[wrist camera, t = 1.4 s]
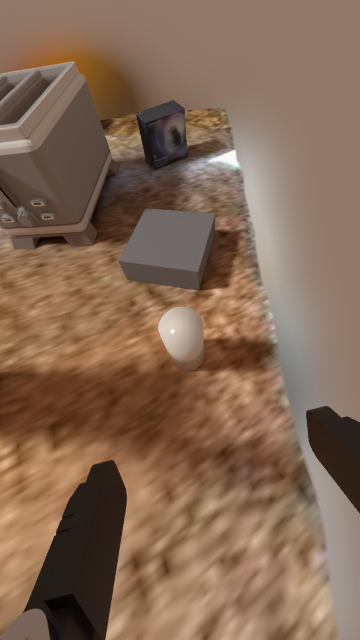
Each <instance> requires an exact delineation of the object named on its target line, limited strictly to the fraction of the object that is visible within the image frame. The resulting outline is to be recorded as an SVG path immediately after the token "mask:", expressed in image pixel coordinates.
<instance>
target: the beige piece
mask: <svg viewBox="0 0 360 640" xmlns="http://www.w3.org/2000/svg"><path fill="white" fill-rule="evenodd" d="M159 333H160V336H161V338H162V340H163V342H164V344H165V346H166V348H167V351H168V353H169V355H170V357H171V359H172V361H173V363H174V365H175V366H176V367H177V368H179V369H180V370H183V371H193V370H195V369H197V368H198V367H199V366H200V365H201V364H202V362H203V360H204V337H203V322H202V319H201V317H200V315H199V314H198V313H197V312H196V311H194V310H193V309H191V308H187V307H176V308H173V309H171V310H169V311H168V312H166V313H165V314H164V315H163V316H162V318H161V320H160V322H159Z"/></svg>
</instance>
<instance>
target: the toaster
mask: <svg viewBox="0 0 360 640" xmlns="http://www.w3.org/2000/svg"><path fill="white" fill-rule="evenodd" d="M118 169H119V166H118V165H117V164H116V162H115V161H114V160H113V158H112V155H111V152H110V149H109V146H108V143H107V140H106V137H105V134H104V131H103V128H102V125H101V123H100V120H99V117H98V114H97V111H96V108H95V105H94V102H93V99H92V96H91V94H90V91H89V88H88V85H87V82H86V79H85V77H84V76H83V75H82V74H81V73H78V70H77V67H76V64H75V62H68V63H62V64H56V65H51V66H45V67H39V68H34V69H27V70H21V71H15V72H9V73H3V74H1V75H0V227H1V229H2V230H3V231H4V232H6V233H7V234H8V235H11V236H10V238H11V241H12V244H13V247H14V250H17V249H35V248H36V246H37V244H38V242H39V240H40V238H41V237H54V236H63V237H64V238H65V239H66V241H67V242H68V243H69V245H70V246H71V247H74V246H92V245H93V244H94V241H95V238H96V235H97V231H96V229H95V228H94V226H93V225H92V223H91V218H92V215H93V213H94V210H95V207H96V204H97V202H98V199H99V196H100V193H101V191H102V188H103V185H104V183H105V180H106V177H107V176H111V175H117V172H118Z"/></svg>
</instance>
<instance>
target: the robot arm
mask: <svg viewBox="0 0 360 640" xmlns="http://www.w3.org/2000/svg"><path fill="white" fill-rule="evenodd" d="M306 418H307V427H308V438H309V443H310V446H311V448H312V450H313V452H314V454H315V456H316V457H317V459H318V460H319V461H320V462H321V464H322V465H323V466H324V468H325V469H326V470H327V471H328V473H329V474H330V475H331V477H332V478H333V479H334V480H335V482H336V483H337V485H338V486H339V487H340V488H341V490H342V491H343V492H344V494H345V495H346V496H347V498H348V499H349V500H350V501H351V503H352V504H353V505H354V507H355V508H356V509H357V511H358V512H359V513H360V422H358V421H356V420H354V419H352V418H350V417H343V418H341V417H340V416H339V415H338V414H337V413H335V412H334V411H333V410H332V409H331V408H330V407H328V406H324V407H320V408H316V409H312V410H308V411H307V412H306ZM126 504H127V494H126V488H125V485H124V483H123V480H122V478H121V476H120V473H119V471H118V469H117V466H116V464H115V462H114V461H113V460H110V461H106V462H102V463H98V464H94V465H93V466H92V467H91V469H90V472H89V475H88V478H87V480H86V483H82V484H80V485H79V486H78V488H77V489H76V490H75V492H74V493H73V495H72V496H71V498H70V499H69V501H68V504H67V506H66V509H65V511H64V514H63V516H62V520H61V521H60V524H59V526H58V529H57V531H56V536H54V539H53V541H52V544H51V546H50V549H49V551H48V553H47V556H46V558H45V561H44V563H43V566H42V568H41V571H40V573H39V576H38V578H37V581H36V583H35V586H34V588H33V591H32V593H31V596H30V598H29V601H28V603H27V605H26V608H25V609H24V611H23V613H22V614H21V615H20V616H19V617H17V618H16V619H15V620H14V621H13V622H12V623H11V624H10V625H9V626H8V627H7V628H6V630H5V631H4V632H3V633H2V635H1V636H0V640H105V638H106V632H107V625H108V619H109V613H110V606H111V600H112V594H113V587H114V581H115V575H116V568H117V562H118V556H119V549H120V543H121V537H122V530H123V524H124V518H125V511H126Z"/></svg>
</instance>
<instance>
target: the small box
mask: <svg viewBox="0 0 360 640" xmlns="http://www.w3.org/2000/svg"><path fill="white" fill-rule="evenodd" d="M136 117H137V120H138V125H139V130H140V135H141V140H142V144H143V149H144V154H145V160H146V162H147V163H148V164H149V165H150V166H151V167H152V168H153V169H154V170H156V169H158V168H161V167H163V166H166V165H168V164H171V163H173V162H176V161H178V160H181V159H183V158H186V157H188V155H187V141H186V126H185V109H184V108H183V107H182V106H181V105H179V104H178V103H176V102H175V101H170V102H167V103H164V104H161V105H159V106H156V107H153V108H150V109H147V110H144V111H142V112H139V113H136Z"/></svg>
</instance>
